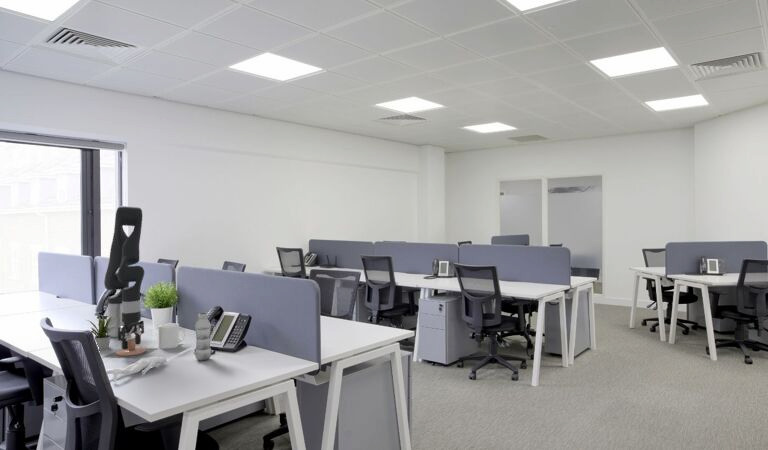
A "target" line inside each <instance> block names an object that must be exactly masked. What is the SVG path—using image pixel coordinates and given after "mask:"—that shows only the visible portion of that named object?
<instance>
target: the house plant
mask: <svg viewBox="0 0 768 450" xmlns="http://www.w3.org/2000/svg"><path fill="white" fill-rule="evenodd" d="M101 317H102V318H101ZM112 317H113V316H112ZM112 317H110V318H109V319H108V321H107V322H106V320H105V317H104V316H103V315H101V316H100V315H98V327H97V326H96V324H94V323H93V322H92V321H90V320H88V319H86V321H87V322H89V323H90V324H91V325H92V326H93V327H94V328H93V327H91V330H90V331H91V332H90V333H92V334H94V337H95V340H96V342H97V345H98V347H99V350H98V351H102V350H107V349H109V347H110V343H111V338H112V337H111V335H106V333H107V334H108V332H107V331H110V330H109V329H111V328H109V327H110V326H109V327H108V325H109V324H110V323H111V321H112V320H111V318H112ZM116 318H118V317H116ZM114 319H115V318H114ZM114 319H113V320H114ZM109 322H110V323H109ZM114 322H115V321H114ZM112 323H113V322H112ZM112 323H111V324H112ZM107 327H108V328H109V329H108V328H107ZM116 327H117V326H116ZM112 328H113V327H112ZM114 328H115V327H114ZM114 328H113V329H114ZM116 329H117V328H116Z"/></svg>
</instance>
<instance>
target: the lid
mask: <svg viewBox="0 0 768 450" xmlns="http://www.w3.org/2000/svg"><path fill="white" fill-rule="evenodd" d="M127 341H128V349H126V350H123V349H122V348H120V349H118V350H115V352H116V355H117V356H135V355H140V354H143V353H145V352H146V348H147V347H146V346H142V345H141V346H139V345H138V346H137V345H136V344H135V337H129V338H128V340H127Z"/></svg>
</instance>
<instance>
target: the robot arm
mask: <svg viewBox="0 0 768 450" xmlns="http://www.w3.org/2000/svg"><path fill="white" fill-rule="evenodd" d="M142 224H143V210H142V209H141V208H140V207H138V206H126V205H120V206H118V207H117V208H116V211H115V218H114V229H113V230H114V231H113V234H112V235H113V237H112V241H111V245H110V250H109V251H110V252H109V258H108V259H109V260H108V264H107V268H106V272H105V277H104V280H103V281H104V283H103V284H104V288H105V289H106V290H109V291H115V290H119V292H117V293H116V294H114V295H112V296H109V297H108V298H107V304H108V306H107V311H108V312H107V314H108V315H107V317H106V320H105V323H106V322H107V321H108V319H109V318H110V317H112V316H113V317H112V318H111V320H112V321H111V323H112V322H113V323H112V324H111V323H110V322H109V323H110V324H109V325H108V327H109V326H110V327H109V328H111V329H109V328H108V327H107V328H108V329H109V330H110V331H107V332H108V334H107V333H106V335H111V338H117V341H120V342H121V349H123V350H126V349H128V341H127V340H128V339H129V338H130V337H131V336H132V334H133V335H134V336H135V337H134V338H135V345H138V346H139V345H140V344H141V342H142V341H141V337H142V335H143V334H144V333H145V323H144V320H142V318H141V317H142V316H141V315H142V310H141V309H142V305H141V287H142V283H143V280H144V277H145V270H144V267H142V266H141V265H136V264H138V263H139V262H140V242H141V241H140V240H141V234H142V226H143V225H142ZM123 226H125V227H127V226H129V227H133V230H132V232H131V233H130V234H129V236H128V234H127V233H126V232H125V230H124V228H123ZM130 283H134V284H133V285H131V286H129V285H130ZM116 317H118V318H116ZM114 318H115V319H114ZM113 319H114V320H113ZM114 321H115V322H114ZM116 326H117V327H116ZM112 327H113V328H114V327H115V328H114V329H113V328H112ZM116 328H117V329H116Z"/></svg>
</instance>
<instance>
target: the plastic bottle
mask: <svg viewBox="0 0 768 450" xmlns="http://www.w3.org/2000/svg"><path fill="white" fill-rule="evenodd" d="M208 316H209V315H208V312H200V313H198V316H197V317H198V319H197V321H196V323H195V325H194V330H195V338H196V341H195V342H196V345H195V346H196V347H195V352H194V353H195V354H194V356H195V359H196V360H197V361H206V360H209V359H210V358H211V357H212V349H211V343H210V336H211V329H212V328H211V326H212V325H211V322H210V320H209V319H208Z"/></svg>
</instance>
